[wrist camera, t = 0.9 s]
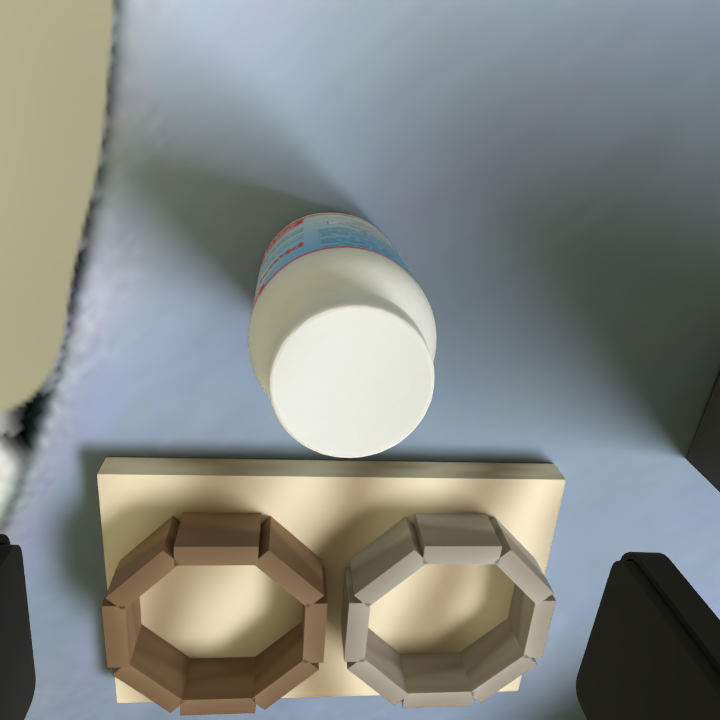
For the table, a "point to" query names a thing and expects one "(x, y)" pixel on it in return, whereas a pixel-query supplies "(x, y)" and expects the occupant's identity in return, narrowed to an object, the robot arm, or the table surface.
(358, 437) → the pill bottle
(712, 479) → the dark gray upright block
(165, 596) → the holder board
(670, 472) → the table surface
